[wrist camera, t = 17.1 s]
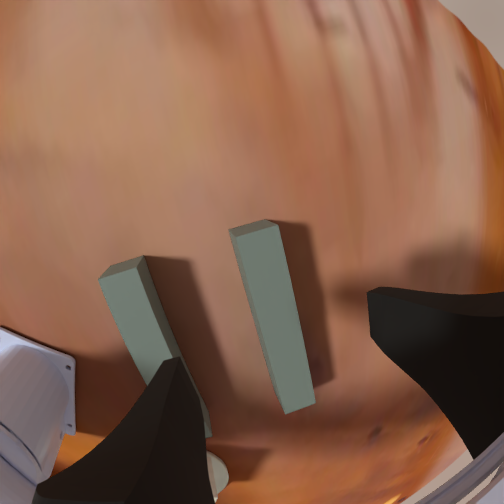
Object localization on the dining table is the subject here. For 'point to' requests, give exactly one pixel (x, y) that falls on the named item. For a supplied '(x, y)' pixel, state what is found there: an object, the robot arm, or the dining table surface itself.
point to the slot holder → (260, 300)
